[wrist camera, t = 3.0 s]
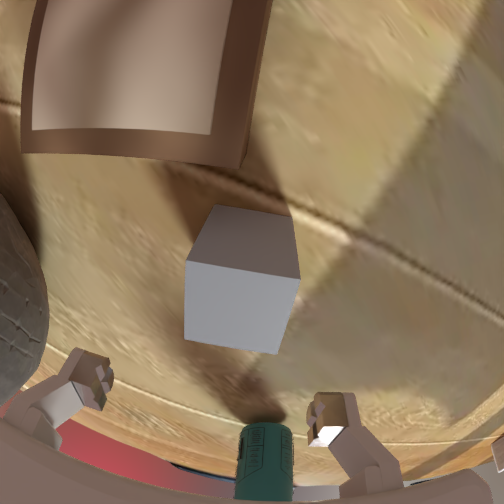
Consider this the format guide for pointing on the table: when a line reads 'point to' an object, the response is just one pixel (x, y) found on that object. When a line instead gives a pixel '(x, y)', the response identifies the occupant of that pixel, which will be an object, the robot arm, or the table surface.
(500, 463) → the small box
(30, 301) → the bowl
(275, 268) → the block
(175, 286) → the table surface
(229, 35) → the base
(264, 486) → the beverage bottle
